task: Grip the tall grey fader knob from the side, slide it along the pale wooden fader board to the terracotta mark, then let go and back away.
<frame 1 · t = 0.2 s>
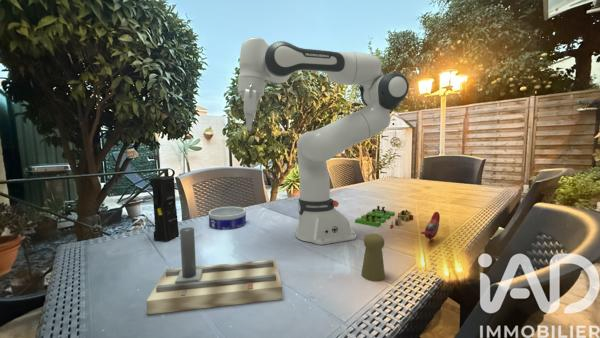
hand: (248, 129, 92), 39 cm above the table, tool pointing down, fingers open, 8 cm apart
fader board: (220, 289, 65), on the table
decorative bird figurine: (429, 244, 93), on the table
toy garden set: (385, 221, 121), on the table
fader knob: (188, 254, 63), point 9 cm above the table, slide at 7.0 cm
dog bowl: (227, 225, 115), on the table
portable radio: (166, 238, 99), on the table
olive green pawn: (372, 276, 71), on the table
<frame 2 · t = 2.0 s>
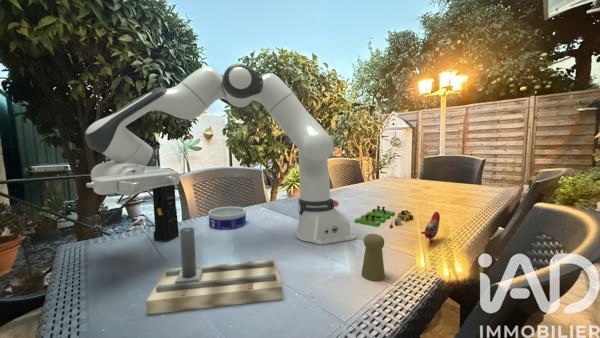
hand: (155, 184, 68), 25 cm above the table, tool horizontal, fingers open, 8 cm apart
nothing on the table moved.
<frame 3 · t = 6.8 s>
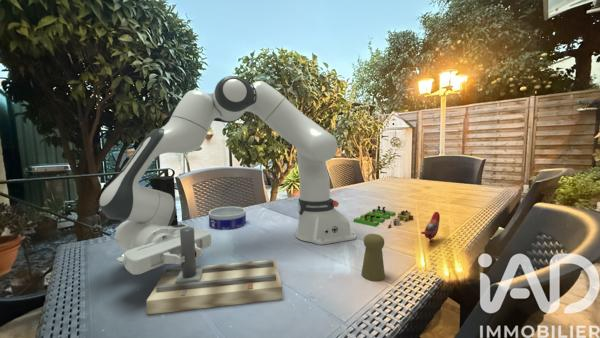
hand: (190, 256, 62), 9 cm above the table, tool horizontal, fingers closed on fader knob, 3 cm apart
fader knob: (188, 254, 63), point 9 cm above the table, slide at 7.0 cm, touching gripper
everything else where it was.
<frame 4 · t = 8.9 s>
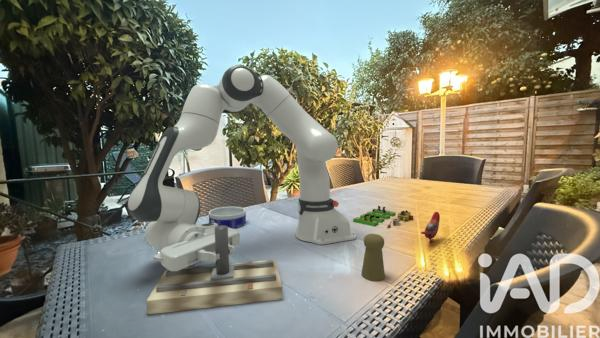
hand: (224, 253, 64), 9 cm above the table, tool horizontal, fingers closed on fader knob, 3 cm apart
fader knob: (222, 251, 64), point 9 cm above the table, slide at -0.6 cm, touching gripper
everything else where it was.
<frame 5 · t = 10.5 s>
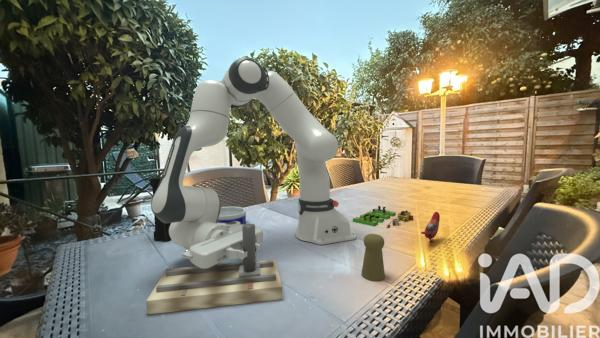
hand: (252, 251, 65), 9 cm above the table, tool horizontal, fingers closed on fader knob, 3 cm apart
fader knob: (249, 249, 65), point 9 cm above the table, slide at -6.9 cm, touching gripper
everything else where it was.
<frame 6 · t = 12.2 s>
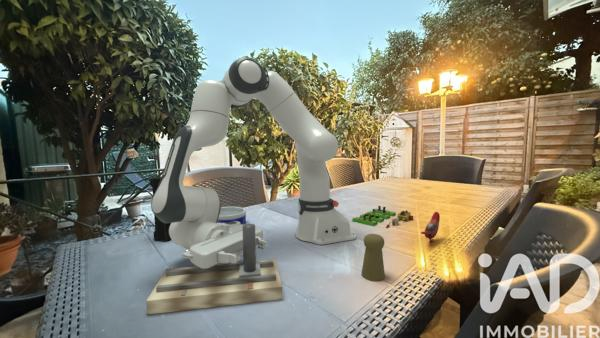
hand: (252, 251, 65), 9 cm above the table, tool horizontal, fingers open, 8 cm apart
fader knob: (249, 249, 65), point 9 cm above the table, slide at -7.0 cm
everything else where it was.
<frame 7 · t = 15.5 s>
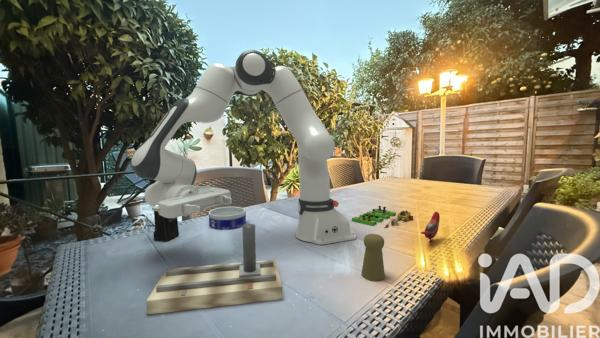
hand: (216, 205, 71), 19 cm above the table, tool horizontal, fingers open, 8 cm apart
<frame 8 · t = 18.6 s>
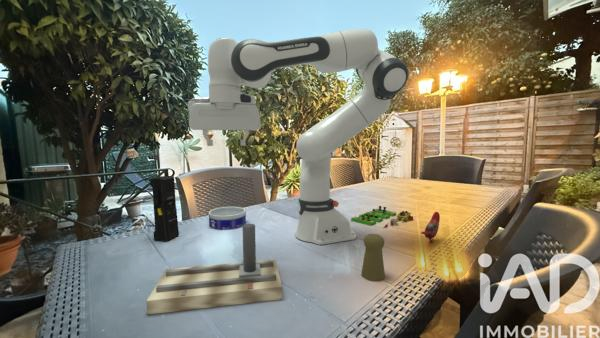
hand: (226, 145, 80), 34 cm above the table, tool pointing down, fingers open, 8 cm apart
at the end: fader knob slide at -7.0 cm; the gripper is holding nothing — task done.
